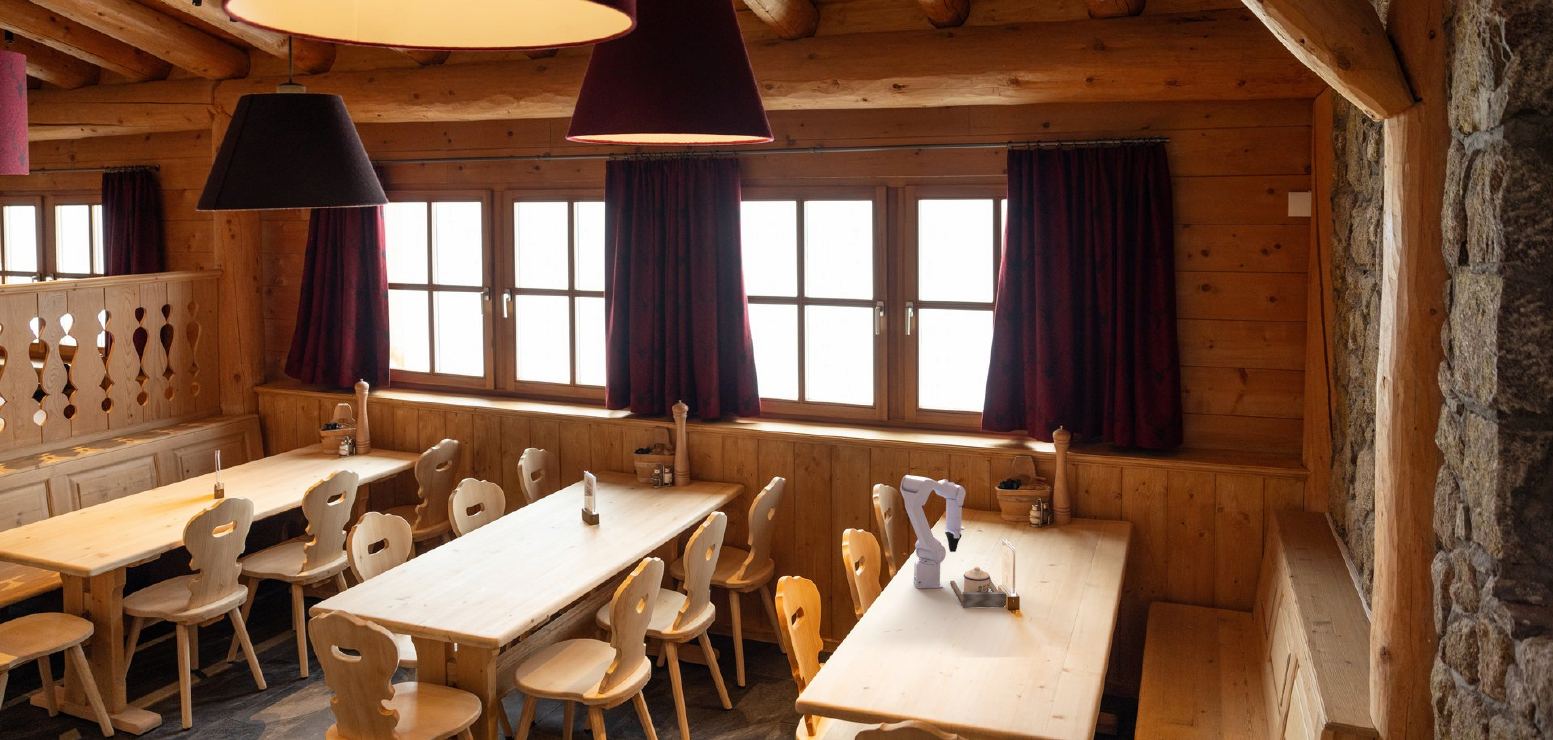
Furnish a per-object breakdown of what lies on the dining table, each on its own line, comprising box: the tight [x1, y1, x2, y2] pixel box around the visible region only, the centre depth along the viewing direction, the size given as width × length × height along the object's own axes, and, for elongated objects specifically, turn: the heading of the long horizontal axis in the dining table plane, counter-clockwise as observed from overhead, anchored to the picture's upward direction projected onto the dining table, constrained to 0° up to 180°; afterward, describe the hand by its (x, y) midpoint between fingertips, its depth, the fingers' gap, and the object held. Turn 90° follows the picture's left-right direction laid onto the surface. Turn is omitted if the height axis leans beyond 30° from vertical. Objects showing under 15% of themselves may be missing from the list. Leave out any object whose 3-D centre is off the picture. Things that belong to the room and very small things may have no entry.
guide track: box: [949, 580, 1007, 609], centre depth 423 cm, size 15×24×5 cm, turn 2°
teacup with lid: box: [963, 566, 992, 592], centre depth 420 cm, size 12×9×12 cm
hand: (952, 551), depth 443 cm, fingers closed
